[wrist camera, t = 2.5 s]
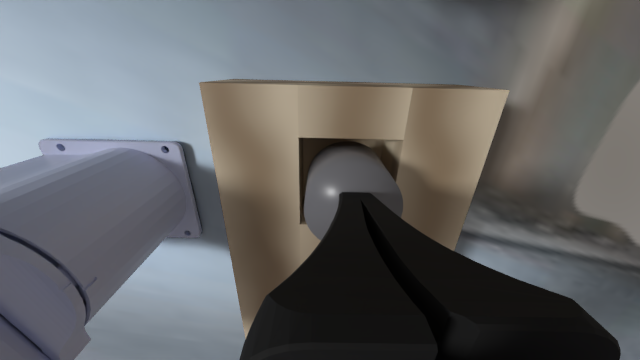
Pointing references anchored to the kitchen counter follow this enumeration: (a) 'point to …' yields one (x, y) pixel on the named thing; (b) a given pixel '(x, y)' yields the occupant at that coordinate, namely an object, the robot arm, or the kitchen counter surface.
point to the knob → (345, 182)
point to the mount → (323, 130)
